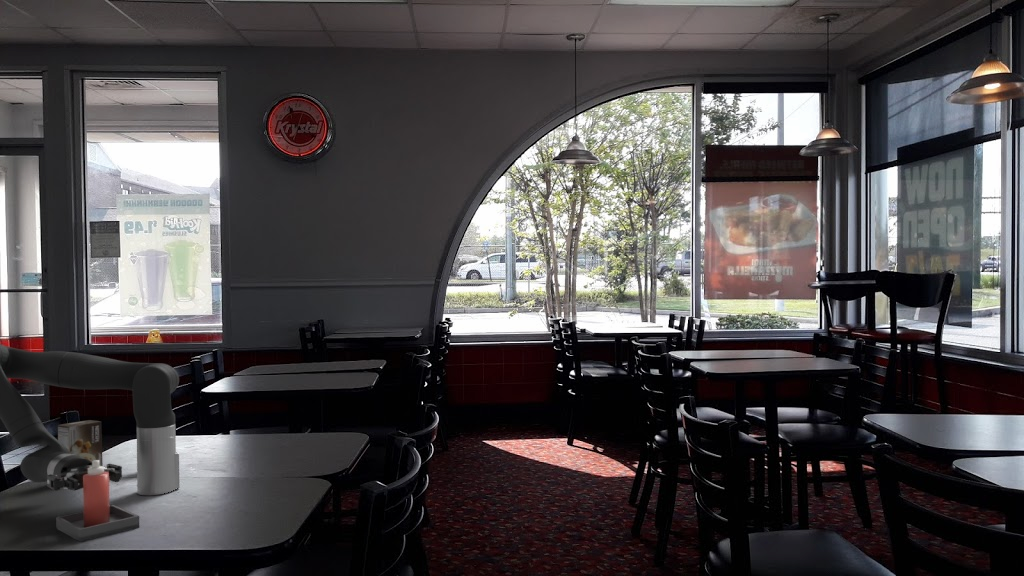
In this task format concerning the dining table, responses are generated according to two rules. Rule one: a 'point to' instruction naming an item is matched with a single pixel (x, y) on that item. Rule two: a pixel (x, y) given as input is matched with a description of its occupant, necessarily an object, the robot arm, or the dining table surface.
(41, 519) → the dining table surface
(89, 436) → the coffee box
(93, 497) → the bottle
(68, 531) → the tray
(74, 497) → the dining table surface
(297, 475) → the dining table surface
